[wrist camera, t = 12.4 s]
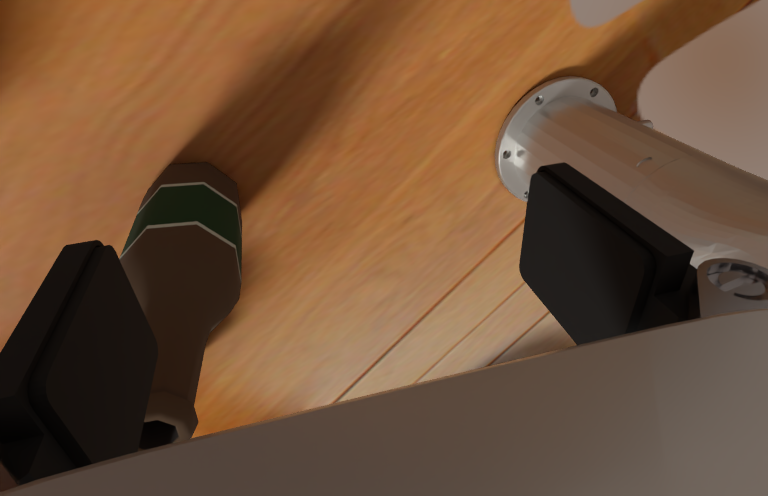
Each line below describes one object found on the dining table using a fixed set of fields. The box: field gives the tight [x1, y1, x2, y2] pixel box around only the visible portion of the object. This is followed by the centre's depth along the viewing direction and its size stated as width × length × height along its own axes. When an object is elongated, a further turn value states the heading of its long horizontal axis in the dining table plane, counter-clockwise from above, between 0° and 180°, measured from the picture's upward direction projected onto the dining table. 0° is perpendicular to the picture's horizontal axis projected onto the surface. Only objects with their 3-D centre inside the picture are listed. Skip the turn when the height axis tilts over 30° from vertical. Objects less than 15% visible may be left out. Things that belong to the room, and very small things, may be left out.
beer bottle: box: [119, 162, 242, 452], centre depth 31 cm, size 8×8×24 cm
